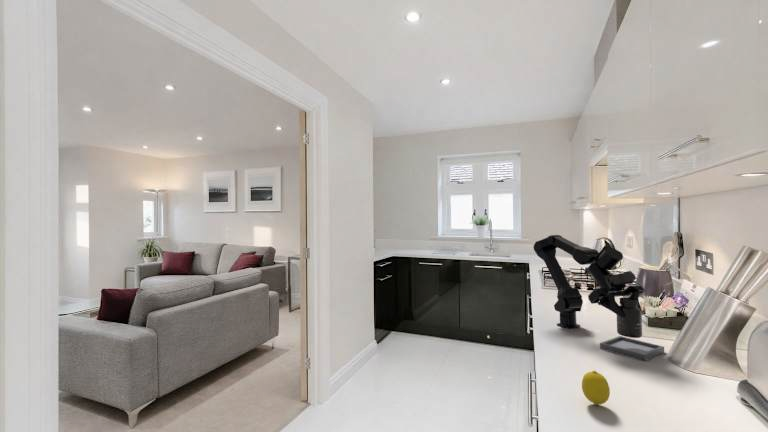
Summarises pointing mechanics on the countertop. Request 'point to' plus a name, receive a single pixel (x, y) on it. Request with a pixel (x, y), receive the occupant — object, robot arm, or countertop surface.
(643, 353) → the base plate
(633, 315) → the supplement bottle
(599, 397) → the lemon
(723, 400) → the countertop surface
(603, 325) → the countertop surface
